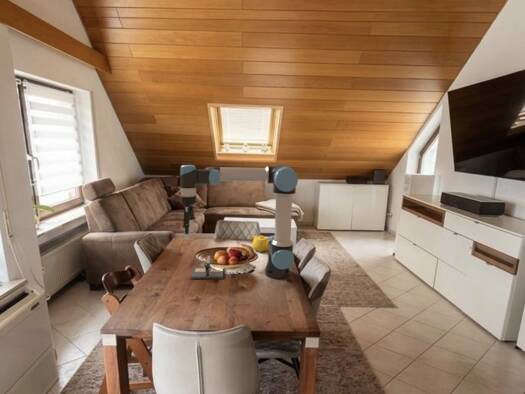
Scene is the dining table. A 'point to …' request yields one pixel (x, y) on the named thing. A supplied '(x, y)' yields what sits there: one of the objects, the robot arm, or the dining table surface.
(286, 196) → the robot arm
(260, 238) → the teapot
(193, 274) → the server plate
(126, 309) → the dining table surface
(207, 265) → the cable arm
